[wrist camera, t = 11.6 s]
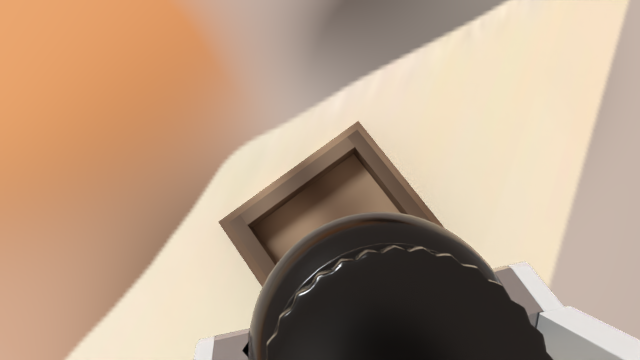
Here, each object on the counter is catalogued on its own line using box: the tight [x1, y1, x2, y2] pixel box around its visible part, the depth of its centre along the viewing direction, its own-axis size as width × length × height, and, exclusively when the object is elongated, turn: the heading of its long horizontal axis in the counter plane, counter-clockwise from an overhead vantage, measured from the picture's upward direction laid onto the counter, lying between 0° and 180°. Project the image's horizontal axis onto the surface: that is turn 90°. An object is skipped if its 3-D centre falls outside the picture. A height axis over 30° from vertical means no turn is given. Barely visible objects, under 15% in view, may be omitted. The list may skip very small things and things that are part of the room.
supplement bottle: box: [248, 212, 553, 360], centre depth 12 cm, size 7×7×12 cm
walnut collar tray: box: [219, 122, 444, 287], centre depth 29 cm, size 14×14×3 cm
